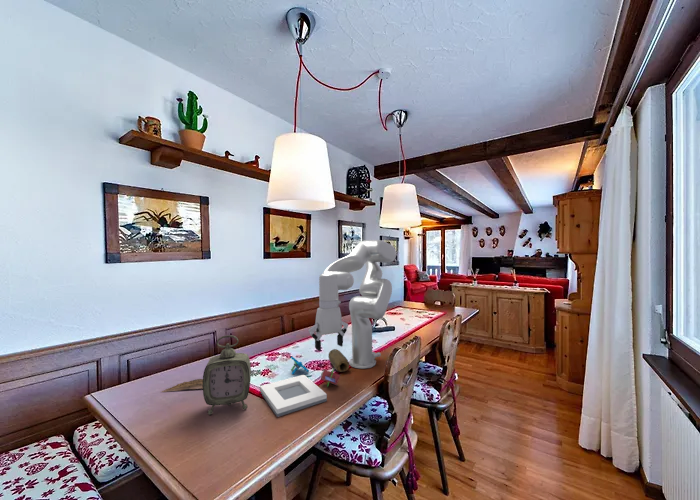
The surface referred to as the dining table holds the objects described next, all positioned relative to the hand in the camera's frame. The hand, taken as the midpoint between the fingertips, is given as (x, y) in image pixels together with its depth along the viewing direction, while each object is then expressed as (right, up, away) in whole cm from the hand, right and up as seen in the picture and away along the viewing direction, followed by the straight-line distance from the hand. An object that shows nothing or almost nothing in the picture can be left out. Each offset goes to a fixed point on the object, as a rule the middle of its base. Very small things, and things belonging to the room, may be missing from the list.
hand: (329, 347), depth 117 cm
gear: (-14, -16, +14) cm, 25 cm away
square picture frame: (-13, -15, -8) cm, 22 cm away
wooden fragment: (-53, -17, +3) cm, 56 cm away
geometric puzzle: (0, -15, 0) cm, 15 cm away
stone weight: (+3, -15, +18) cm, 24 cm away
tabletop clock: (-33, -16, -15) cm, 40 cm away
